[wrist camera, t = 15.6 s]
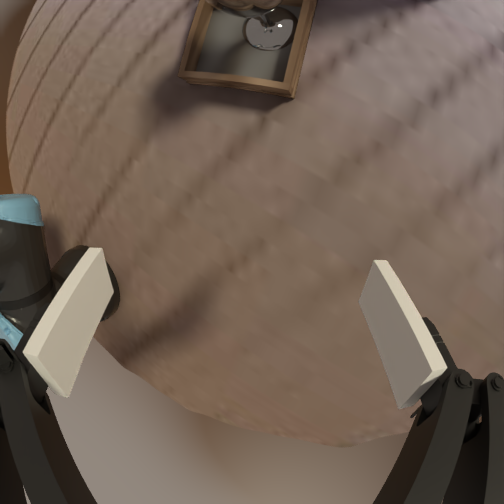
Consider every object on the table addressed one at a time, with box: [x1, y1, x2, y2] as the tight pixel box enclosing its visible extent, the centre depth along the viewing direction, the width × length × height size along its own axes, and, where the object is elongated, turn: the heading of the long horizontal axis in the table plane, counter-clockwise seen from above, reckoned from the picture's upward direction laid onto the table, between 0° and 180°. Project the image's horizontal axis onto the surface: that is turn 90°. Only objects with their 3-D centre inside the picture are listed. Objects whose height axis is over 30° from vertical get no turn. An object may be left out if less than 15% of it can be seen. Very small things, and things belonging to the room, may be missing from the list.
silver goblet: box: [205, 0, 298, 51], centre depth 20 cm, size 8×8×15 cm
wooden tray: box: [177, 0, 317, 99], centre depth 25 cm, size 14×19×6 cm
